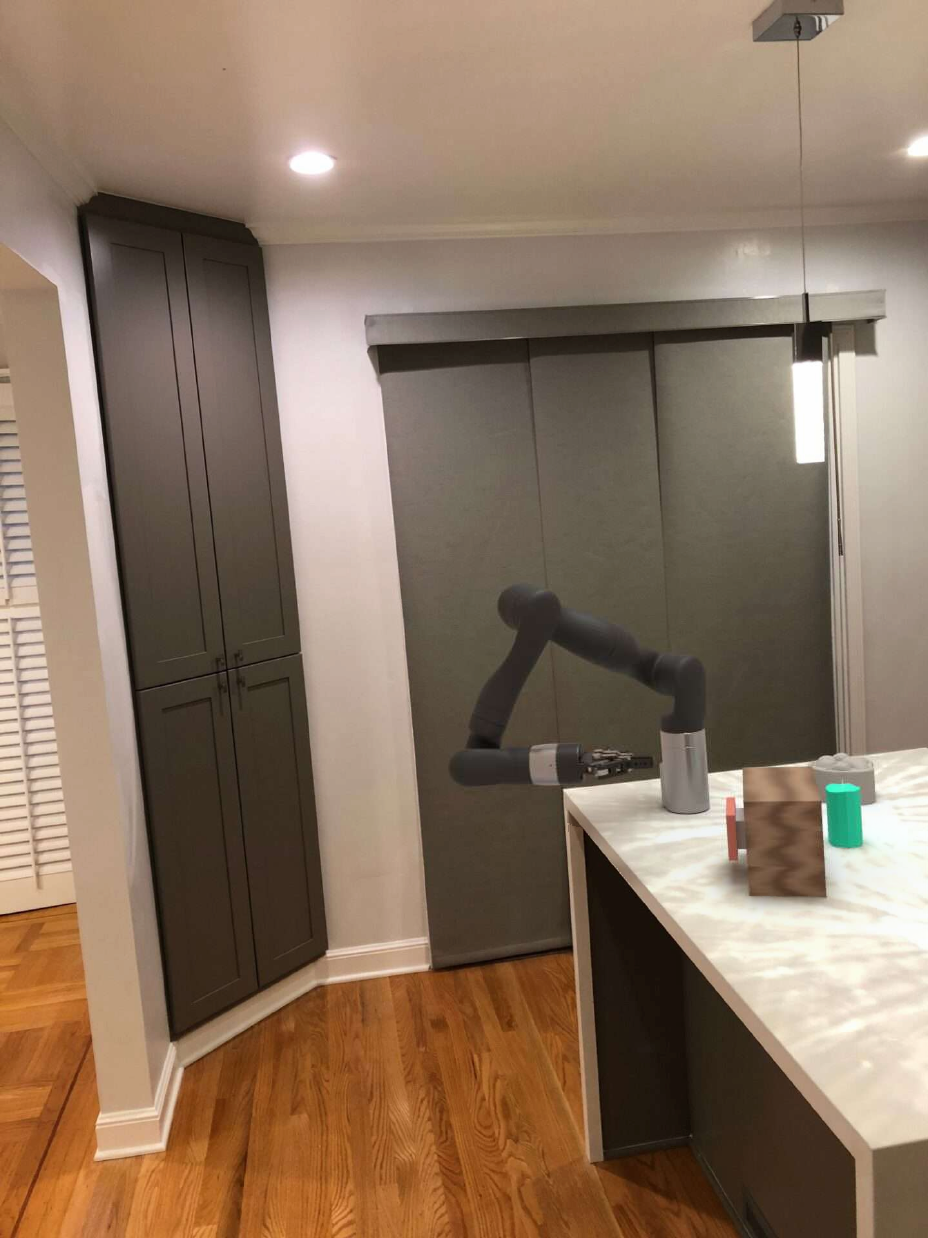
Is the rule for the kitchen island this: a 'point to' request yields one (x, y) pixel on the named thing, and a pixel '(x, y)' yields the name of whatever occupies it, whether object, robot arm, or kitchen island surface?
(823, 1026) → the kitchen island surface
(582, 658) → the robot arm
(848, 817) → the candle
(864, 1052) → the kitchen island surface
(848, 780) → the lumpy-topped squat cylinder
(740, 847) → the coral square plate
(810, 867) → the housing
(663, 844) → the kitchen island surface
